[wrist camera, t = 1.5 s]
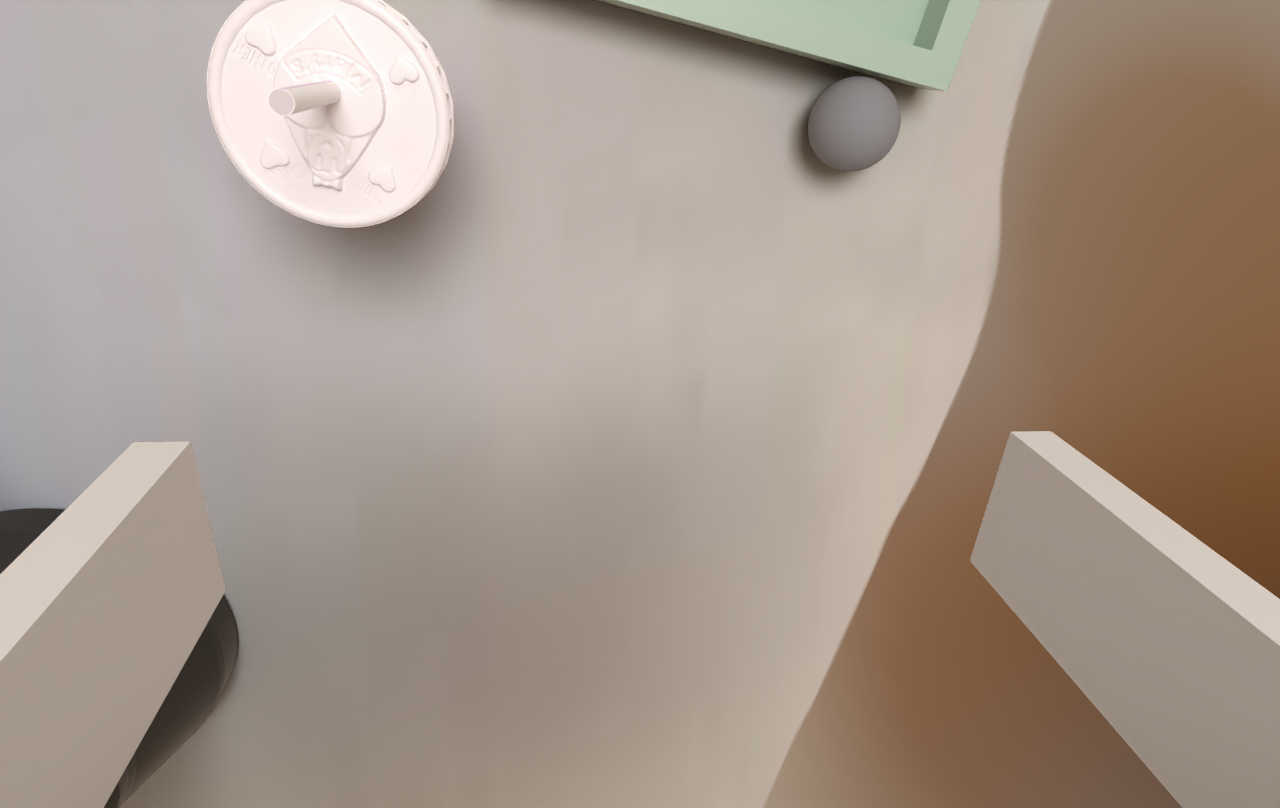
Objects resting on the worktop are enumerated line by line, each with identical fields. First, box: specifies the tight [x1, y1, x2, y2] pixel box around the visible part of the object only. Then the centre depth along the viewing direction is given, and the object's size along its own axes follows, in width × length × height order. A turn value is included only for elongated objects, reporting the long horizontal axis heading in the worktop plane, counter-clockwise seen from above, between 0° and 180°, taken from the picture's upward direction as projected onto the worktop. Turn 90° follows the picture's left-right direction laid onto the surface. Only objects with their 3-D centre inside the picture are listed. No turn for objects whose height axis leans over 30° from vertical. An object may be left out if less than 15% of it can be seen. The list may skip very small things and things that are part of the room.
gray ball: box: [808, 76, 901, 171], centre depth 29 cm, size 4×4×4 cm
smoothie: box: [207, 0, 454, 228], centre depth 22 cm, size 6×6×14 cm
